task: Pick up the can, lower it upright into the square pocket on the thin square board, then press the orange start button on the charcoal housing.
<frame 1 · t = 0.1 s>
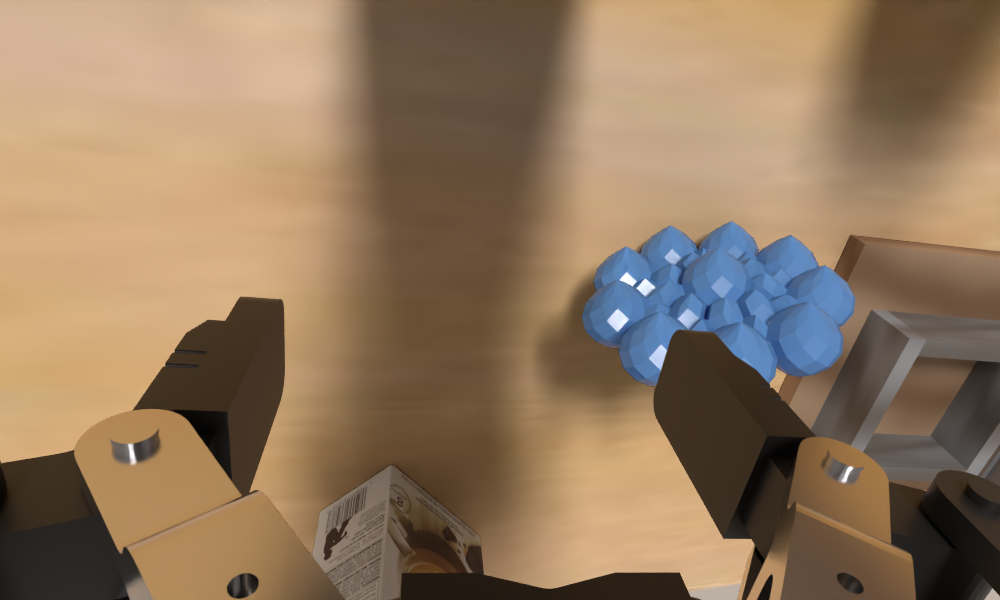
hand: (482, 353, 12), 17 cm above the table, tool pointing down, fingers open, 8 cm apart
grapes: (661, 258, 32), on the table
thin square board: (892, 373, 37), on the table
coffee box: (402, 521, 39), on the table
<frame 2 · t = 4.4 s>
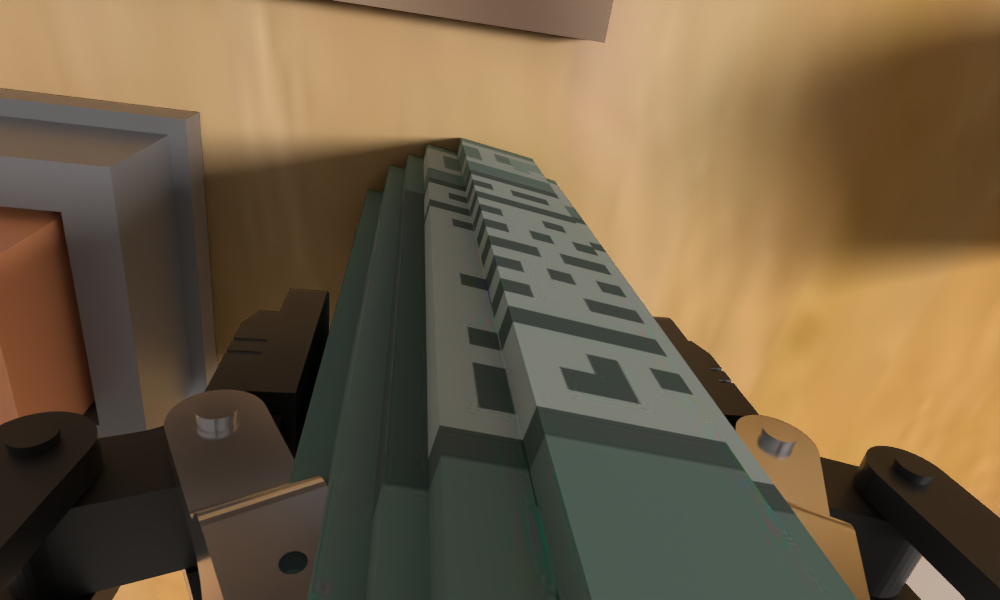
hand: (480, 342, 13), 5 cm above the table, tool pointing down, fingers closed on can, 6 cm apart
button housing: (49, 247, 16), on the table
can: (464, 247, 18), on the table, touching gripper
when the fingers open (8 cm above the table, at t = 10.5 s): can drops 1 cm, resting on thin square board.
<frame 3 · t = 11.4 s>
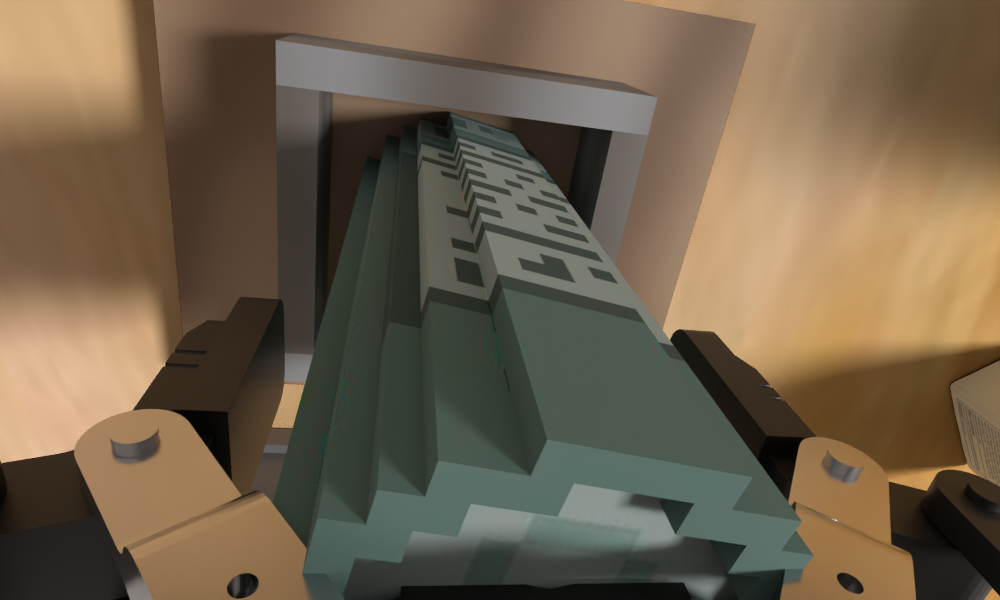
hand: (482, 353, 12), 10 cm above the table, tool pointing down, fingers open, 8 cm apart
skincare box: (993, 403, 29), on the table
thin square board: (447, 203, 21), on the table
button housing: (295, 503, 26), on the table
can: (452, 210, 20), point 1 cm above the table, touching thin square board
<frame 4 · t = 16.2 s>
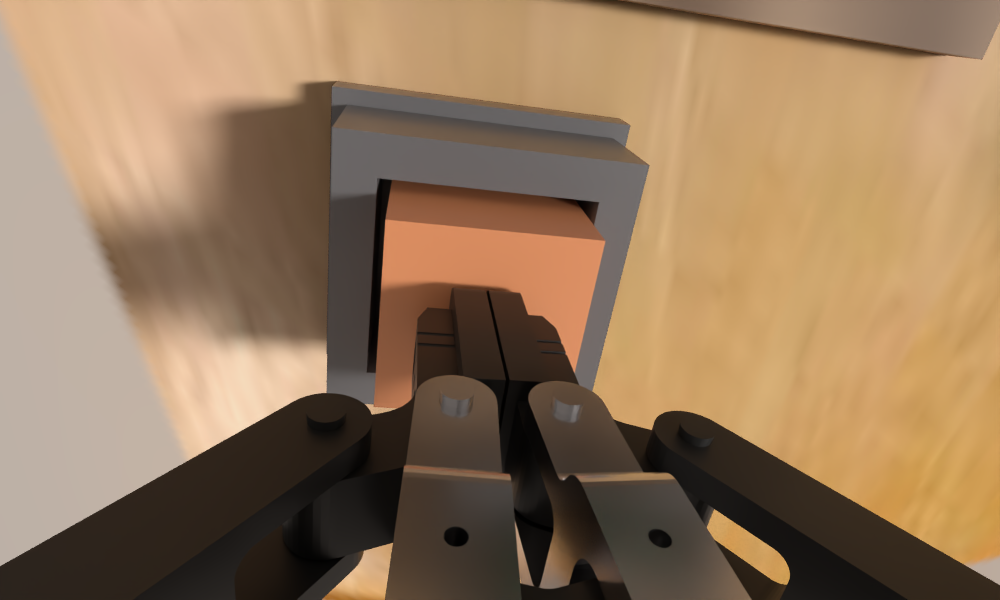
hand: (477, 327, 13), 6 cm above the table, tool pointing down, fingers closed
button housing: (466, 234, 19), on the table
start button: (478, 297, 15), point 4 cm above the table, slide at 0.2 cm, touching gripper
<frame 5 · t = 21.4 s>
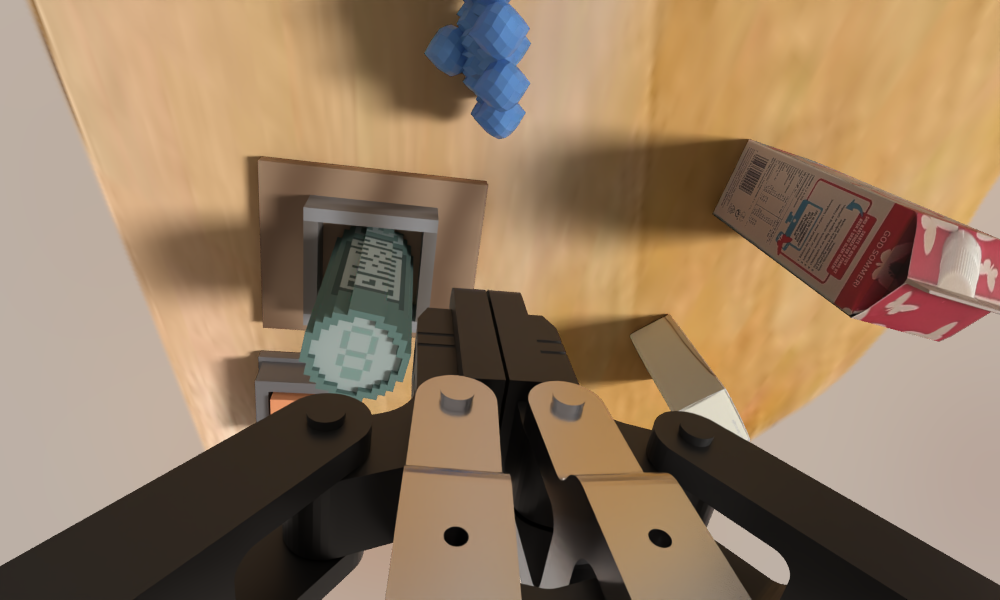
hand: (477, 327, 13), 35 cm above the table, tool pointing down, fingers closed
juice carton: (762, 187, 51), on the table
grapes: (470, 40, 43), on the table
skincare box: (658, 345, 57), on the table
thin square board: (372, 253, 49), on the table
button housing: (308, 391, 54), on the table
start button: (302, 412, 52), point 3 cm above the table, slide at 1.4 cm
can: (373, 257, 48), point 1 cm above the table, touching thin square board
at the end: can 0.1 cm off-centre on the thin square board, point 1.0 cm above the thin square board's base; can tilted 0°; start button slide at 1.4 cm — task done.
